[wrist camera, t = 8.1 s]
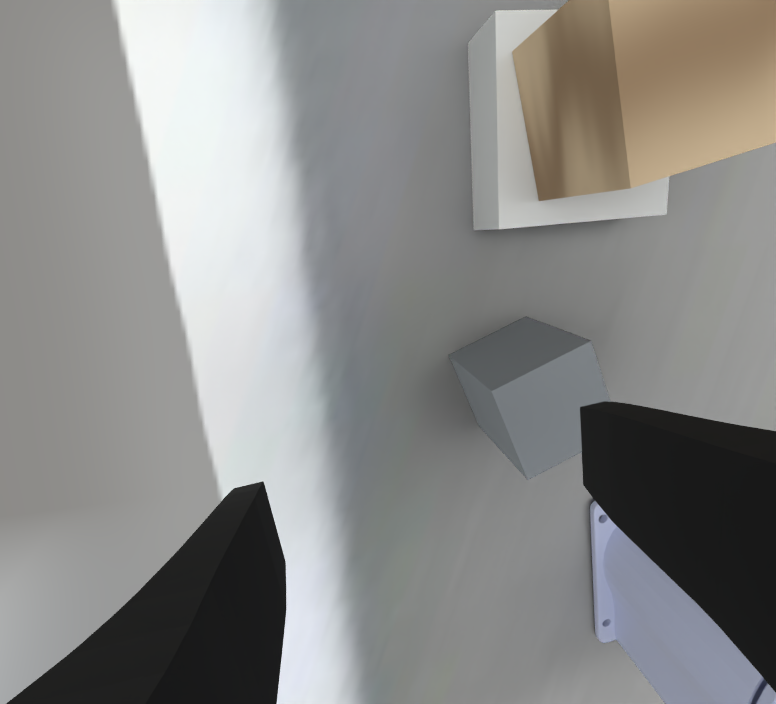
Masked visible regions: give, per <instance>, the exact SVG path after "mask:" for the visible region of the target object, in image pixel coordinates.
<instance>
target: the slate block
mask: <svg viewBox="0 0 776 704" xmlns="http://www.w3.org/2000/svg"><path fill="white" fill-rule="evenodd" d="M449 357H450V360H451V362H452V364H453V367H454V369H455V371H456V374H457V376H458V378H459V381H460V383H461V385H462V388H463V390H464V392H465V395H466V397H467V399H468V402H469V404H470V406H471V408H472V411H473V413H474V415H475V418H476V420H477V422H478V425H479V427H480V428H481V429H482V430H483V431H484V432H485V433H486V434H487V436H488V437H489V438H490V439H491V440H492V441H493V442H494V443H495V444H496V445H497V447H498V448H499V449H500V450H501V451H502V452H503V453H504V454H505V455H506V457H507V458H508V459H509V460H510V461H511V462H512V463H513V464H514V465H515V466H516V468H517V469H518V470H519V471H520V472H521V473H522V474H523V475H524V476H525V478H526V479H527V480H529V479H531V478H532V477H534V476H536V475H538V474H540V473H542V472H544V471H546V470H548V469H550V468H552V467H554V466H556V465H557V464H559V463H561V462H563V461H565V460H567V459H569V458H571V457H573V456H575V455H577V454H579V453H581V452H582V443H581V421H580V407H582V406H586V405H591V404H595V403H599V402H603V401H607V402H610V398H609V395H608V392H607V389H606V386H605V383H604V379H603V376H602V373H601V370H600V367H599V363H598V360H597V357H596V354H595V351H594V348H593V344H592V341H591V340H588V339H585V338H582V337H580V336H577V335H574V334H572V333H569V332H566V331H564V330H561V329H558V328H555V327H553V326H550V325H547V324H545V323H542V322H539V321H537V320H534V319H531V318H528V317H524V318H522V319H520V320H518V321H516V322H514V323H512V324H510V325H508V326H506V327H504V328H502V329H500V330H498V331H496V332H494V333H492V334H490V335H488V336H486V337H484V338H482V339H480V340H478V341H476V342H474V343H472V344H470V345H468V346H466V347H464V348H462V349H460V350H458V351H456V352H454V353H452V354H450V355H449Z"/></svg>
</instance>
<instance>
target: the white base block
mask: <svg viewBox="0 0 776 704" xmlns="http://www.w3.org/2000/svg"><path fill="white" fill-rule="evenodd" d="M557 11H558V10H495V12H494V13H493V14H492V15H491V16H490V18H489V19H488V20H487V21H486V22H485V24H484V25H483V26H482V27H481V28H480V30H479V31H478V32H477V33H476V34H475V35H474V37H473V38H472V39H471V40H470V41H469V43H468V62H469V95H470V128H471V161H472V194H473V227H474V230H494V229H508V228H520V227H531V226H542V225H554V224H565V223H576V222H587V221H599V220H610V219H621V218H632V217H644V216H655V215H666V214H667V202H668V189H669V176H668V177H665V178H662V179H659V180H656V181H653V182H649V183H646V184H643V185H640V186H637V187H634V188H630V189H623V190H616V191H608V192H601V193H594V194H587V195H580V196H573V197H565V198H558V199H551V200H544V201H539V199H538V194H537V188H536V183H535V177H534V171H533V166H532V160H531V155H530V149H529V143H528V138H527V132H526V127H525V121H524V115H523V110H522V104H521V99H520V93H519V87H518V82H517V76H516V71H515V65H514V60H513V54H512V51H513V50H514V49H515V48H517V47H518V46H519V45H520V44H521V43H522V42H523V41H524V40H525V39H527V38H528V37H529V36H530V35H531V34H532V33H533V32H534V31H535V30H537V29H538V28H539V27H540V26H541V25H542V24H543V23H544V22H545V21H547V20H548V19H549V18H550V17H551V16H552V15H553V14H554V13H555V12H557Z"/></svg>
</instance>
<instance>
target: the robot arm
mask: <svg viewBox="0 0 776 704" xmlns="http://www.w3.org/2000/svg"><path fill="white" fill-rule="evenodd" d="M580 421H581V443H582V464H583V485H584V486H585V488H586V489H587V490H588V492H589V493H590V494H591V496H592V497H593V498H594V499H595V501H594V502H593V503H592V504H591V506H590V520H591V543H592V567H593V590H594V614H595V634H596V637H597V638H598V640H599V641H600V642H602V643H608V642H611V641H614V640H617V641H618V642H619V644H620V645H621V646H622V648H623V649H624V650H625V652H626V653H627V654H628V655H629V657H630V658H631V659H632V661H633V662H634V663H635V665H636V666H637V667H638V669H639V670H640V671H641V672H642V674H643V675H644V676H645V678H646V679H647V680H648V682H649V683H650V684H651V686H652V687H653V688H654V689H655V691H656V692H657V693H658V695H659V696H660V697H661V699H662V700H663V701H664V702H665V704H776V431H770V430H764V429H758V428H752V427H746V426H740V425H735V424H729V423H724V422H719V421H713V420H708V419H703V418H698V417H693V416H688V415H683V414H678V413H673V412H668V411H663V410H658V409H653V408H648V407H643V406H637V405H632V404H625V403H618V402H607V401H603V402H599V403H595V404H591V405H586V406H582V407H580ZM601 515H602V517H601V518H599V517H600V516H601ZM285 617H286V565H285V559H284V555H283V551H282V548H281V544H280V540H279V537H278V533H277V529H276V526H275V522H274V518H273V515H272V511H271V507H270V504H269V500H268V496H267V493H266V489H265V485H264V482H259V483H255V484H251V485H246V486H242V487H238V488H234V489H233V490H232V491H231V492H230V493H229V494H228V495H227V496H226V497H225V498H224V499H223V500H222V502H221V503H220V504H219V505H218V506H217V507H216V509H215V510H214V511H213V512H212V513H211V514H210V516H208V518H207V519H206V520H205V521H204V522H203V524H201V526H200V527H199V528H198V529H197V530H196V531H195V532H194V533H193V535H192V536H191V537H190V538H189V539H188V540H187V541H186V543H185V544H184V545H183V546H182V547H181V548H180V549H179V551H177V552H176V553H175V555H174V556H173V557H172V558H171V559H170V560H169V561H168V562H167V563H166V564H165V565H164V566H163V567H162V568H161V569H160V570H159V571H158V572H157V573H156V574H155V575H154V576H153V577H152V578H151V579H150V580H149V581H148V582H147V583H146V584H145V586H143V587H142V588H141V590H140V591H139V592H138V593H137V594H136V595H135V596H133V597H132V598H131V599H130V600H129V601H128V602H127V603H126V604H125V605H124V606H123V607H122V608H121V609H120V610H119V611H118V612H117V613H116V614H114V616H112V617H111V618H110V619H109V620H108V621H107V622H105V623H104V624H103V625H102V626H101V627H100V628H99V629H98V630H96V631H95V632H94V633H93V634H92V635H91V636H90V637H89V638H87V639H86V640H85V641H84V642H83V643H82V644H81V645H79V646H78V647H77V648H76V649H75V650H73V651H72V652H71V653H70V654H69V655H67V657H65V658H64V659H63V660H61V661H60V662H59V663H57V664H56V665H55V666H54V667H52V668H51V669H50V670H49V671H47V672H46V673H45V674H43V675H42V676H41V677H40V678H38V679H37V680H36V681H35V682H33V683H32V684H31V685H29V686H28V687H27V688H26V689H24V690H23V691H22V692H21V693H19V694H18V695H17V696H16V697H14V698H13V699H12V700H10V701H9V702H8V703H7V704H276V702H277V693H278V684H279V674H280V665H281V656H282V646H283V637H284V627H285Z"/></svg>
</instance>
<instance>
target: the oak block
mask: <svg viewBox="0 0 776 704" xmlns="http://www.w3.org/2000/svg"><path fill="white" fill-rule="evenodd" d="M512 54H513V60H514V65H515V71H516V76H517V82H518V87H519V93H520V99H521V104H522V110H523V115H524V121H525V127H526V132H527V138H528V143H529V149H530V155H531V160H532V166H533V171H534V177H535V183H536V188H537V194H538V199H539V201H544V200H551V199H558V198H565V197H573V196H580V195H587V194H594V193H601V192H608V191H616V190H623V189H630V188H634V187H637V186H640V185H643V184H646V183H649V182H653V181H656V180H659V179H662V178H665V177H668V176H672V175H675V174H678V173H681V172H684V171H687V170H691V169H694V168H697V167H700V166H703V165H706V164H709V163H713V162H716V161H719V160H722V159H725V158H728V157H732V156H735V155H738V154H741V153H744V152H747V151H751V150H754V149H757V148H760V147H763V146H766V145H770V144H773V143H776V0H569V1H568V2H566V3H565V4H564V5H563V6H562V7H561V8H560V9H559V10H558V11H557V12H555V13H554V14H553V15H552V16H551V17H550V18H549V19H548V20H547V21H545V22H544V23H543V24H542V25H541V26H540V27H539V28H538V29H537V30H535V31H534V32H533V33H532V34H531V35H530V36H529V37H528V38H527V39H525V40H524V41H523V42H522V43H521V44H520V45H519V46H518V47H517V48H515V49H514V50H513V51H512Z"/></svg>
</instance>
